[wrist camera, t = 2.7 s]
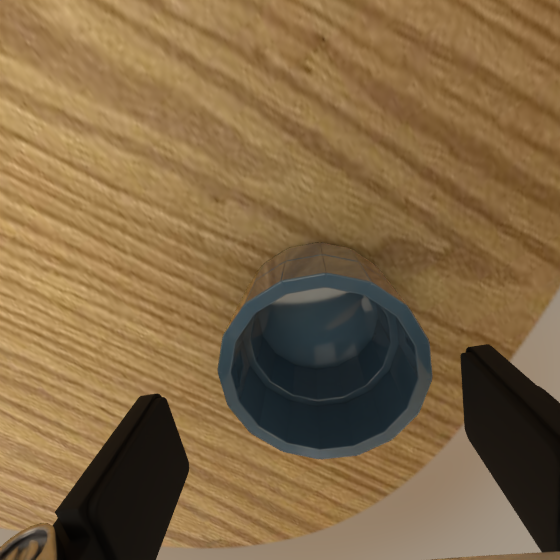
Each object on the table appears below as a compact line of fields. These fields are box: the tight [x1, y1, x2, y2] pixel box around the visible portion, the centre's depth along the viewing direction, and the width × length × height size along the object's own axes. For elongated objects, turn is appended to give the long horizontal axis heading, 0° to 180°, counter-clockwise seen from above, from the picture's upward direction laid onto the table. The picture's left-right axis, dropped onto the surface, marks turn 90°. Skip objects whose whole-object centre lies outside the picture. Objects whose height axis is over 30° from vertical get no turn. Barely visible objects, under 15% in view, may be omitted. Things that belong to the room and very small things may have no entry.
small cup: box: [218, 242, 432, 459], centre depth 14 cm, size 7×7×6 cm
